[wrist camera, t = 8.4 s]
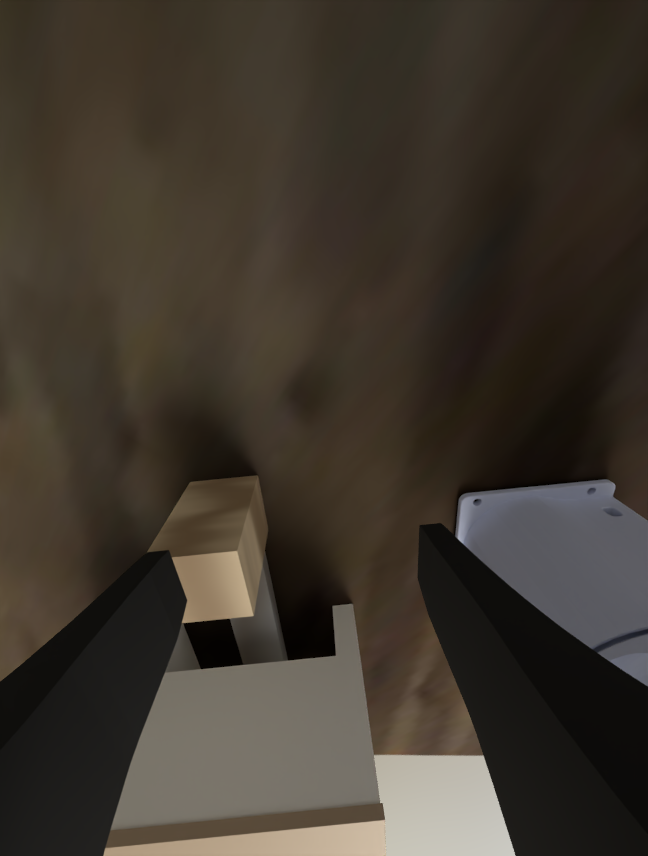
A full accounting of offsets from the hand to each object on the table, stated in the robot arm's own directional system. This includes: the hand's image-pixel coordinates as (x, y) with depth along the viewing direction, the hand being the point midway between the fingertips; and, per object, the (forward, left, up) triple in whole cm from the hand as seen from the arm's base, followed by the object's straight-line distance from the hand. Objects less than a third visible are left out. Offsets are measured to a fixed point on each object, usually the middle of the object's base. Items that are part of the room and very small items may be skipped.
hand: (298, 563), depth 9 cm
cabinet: (+5, +19, -9) cm, 22 cm away
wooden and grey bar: (+5, +12, -9) cm, 16 cm away
